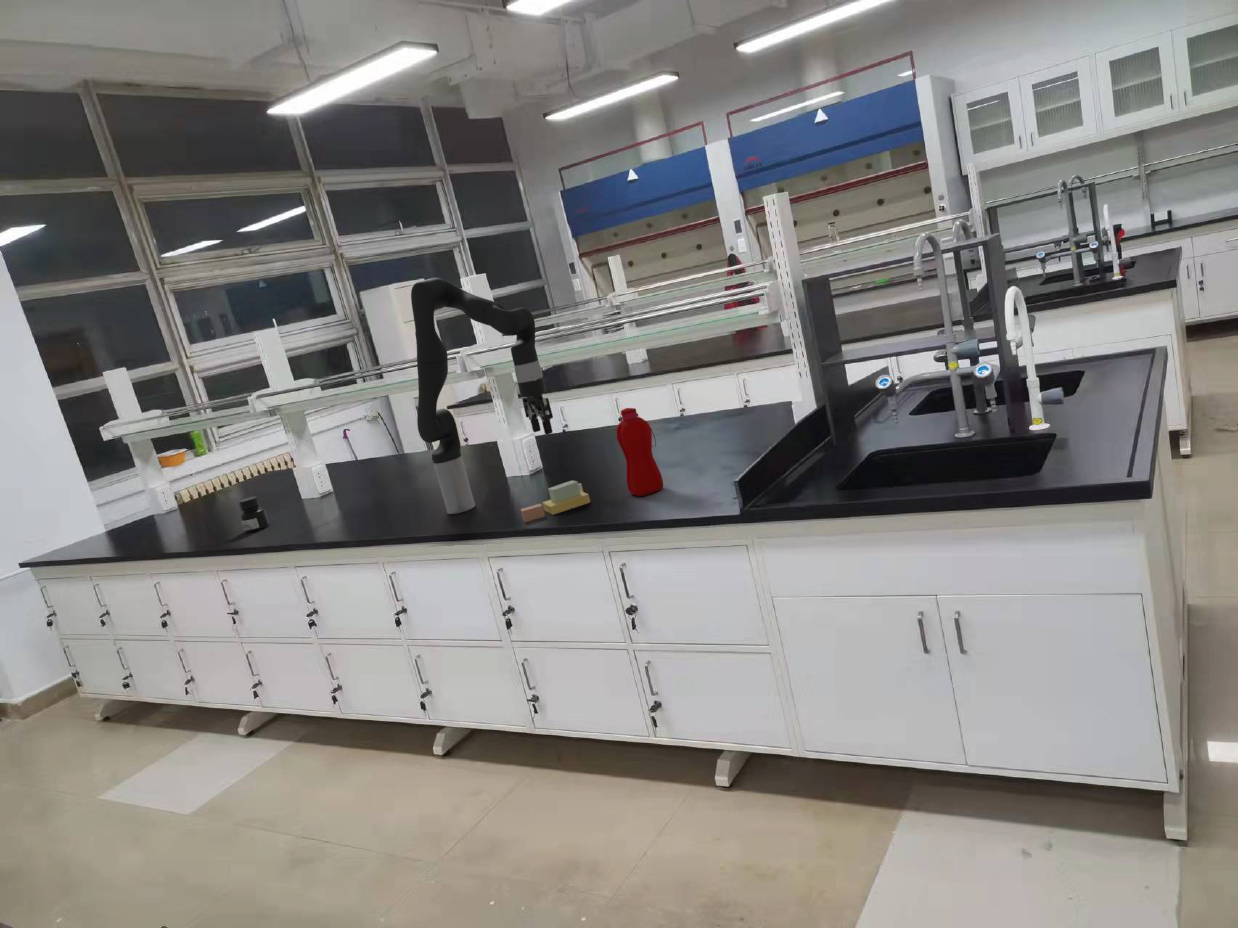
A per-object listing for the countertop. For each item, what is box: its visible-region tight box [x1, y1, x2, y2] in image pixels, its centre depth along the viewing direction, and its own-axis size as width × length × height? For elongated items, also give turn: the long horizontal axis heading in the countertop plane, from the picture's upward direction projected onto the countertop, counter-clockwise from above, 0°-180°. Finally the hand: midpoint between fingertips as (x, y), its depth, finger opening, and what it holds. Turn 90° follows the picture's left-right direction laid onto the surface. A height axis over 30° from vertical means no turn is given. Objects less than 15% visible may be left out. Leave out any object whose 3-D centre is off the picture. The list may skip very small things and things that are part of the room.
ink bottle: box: [238, 495, 270, 533], centre depth 326 cm, size 10×9×12 cm
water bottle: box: [615, 407, 664, 497], centre depth 248 cm, size 9×11×25 cm
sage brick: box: [547, 480, 581, 503], centre depth 254 cm, size 4×8×4 cm, turn 117°
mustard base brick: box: [541, 491, 591, 516], centre depth 255 cm, size 8×12×3 cm, turn 112°
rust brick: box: [520, 503, 546, 523], centre depth 250 cm, size 6×3×4 cm, turn 104°
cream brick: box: [578, 482, 584, 492], centre depth 266 cm, size 6×3×4 cm, turn 44°
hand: (542, 432), depth 251 cm, fingers open, 8 cm apart
